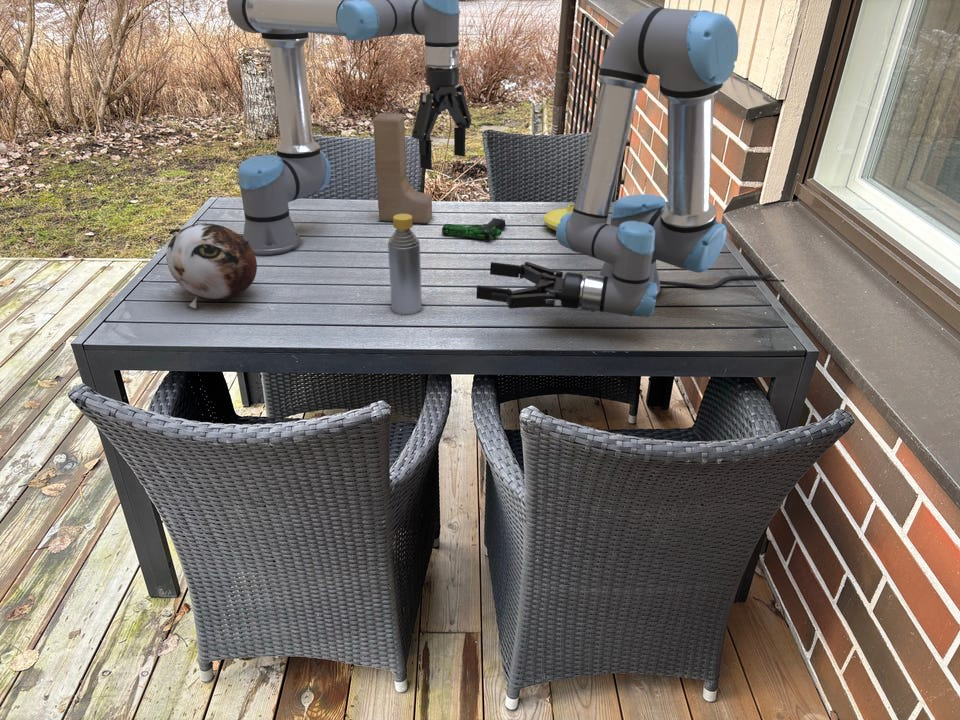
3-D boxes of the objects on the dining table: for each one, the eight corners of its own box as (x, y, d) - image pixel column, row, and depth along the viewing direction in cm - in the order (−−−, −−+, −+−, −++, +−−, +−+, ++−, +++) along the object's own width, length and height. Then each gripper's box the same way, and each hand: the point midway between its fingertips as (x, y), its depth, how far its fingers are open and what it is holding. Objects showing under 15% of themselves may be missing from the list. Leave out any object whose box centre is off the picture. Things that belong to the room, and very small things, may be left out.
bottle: (388, 313, 163) (383, 223, 152) (394, 300, 169) (389, 212, 158) (419, 315, 162) (416, 224, 151) (423, 301, 168) (421, 213, 157)
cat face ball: (130, 285, 161) (164, 203, 163) (192, 308, 177) (221, 233, 178) (195, 307, 151) (229, 220, 152) (254, 330, 166) (285, 250, 168)
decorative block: (427, 224, 212) (425, 120, 197) (378, 221, 214) (372, 118, 199) (432, 215, 219) (430, 114, 204) (384, 213, 221) (379, 112, 205)
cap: (391, 229, 154) (391, 219, 152) (395, 222, 157) (394, 213, 156) (411, 230, 153) (410, 220, 152) (414, 223, 157) (413, 213, 156)
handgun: (511, 219, 210) (493, 234, 198) (511, 228, 211) (492, 244, 199) (461, 212, 215) (440, 226, 203) (461, 221, 217) (440, 236, 204)
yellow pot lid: (559, 216, 220) (561, 193, 217) (605, 227, 212) (608, 204, 209) (532, 230, 209) (533, 207, 206) (580, 242, 201) (582, 218, 198)
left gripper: (421, 75, 148) (424, 176, 159) (486, 61, 166) (485, 153, 177) (393, 71, 151) (397, 171, 162) (460, 58, 169) (460, 148, 180)
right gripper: (573, 333, 143) (470, 319, 147) (585, 285, 164) (495, 274, 168) (576, 299, 139) (471, 285, 143) (588, 254, 161) (496, 244, 164)
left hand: (443, 161), depth 169 cm, fingers open, 13 cm apart
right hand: (483, 279), depth 156 cm, fingers open, 13 cm apart
